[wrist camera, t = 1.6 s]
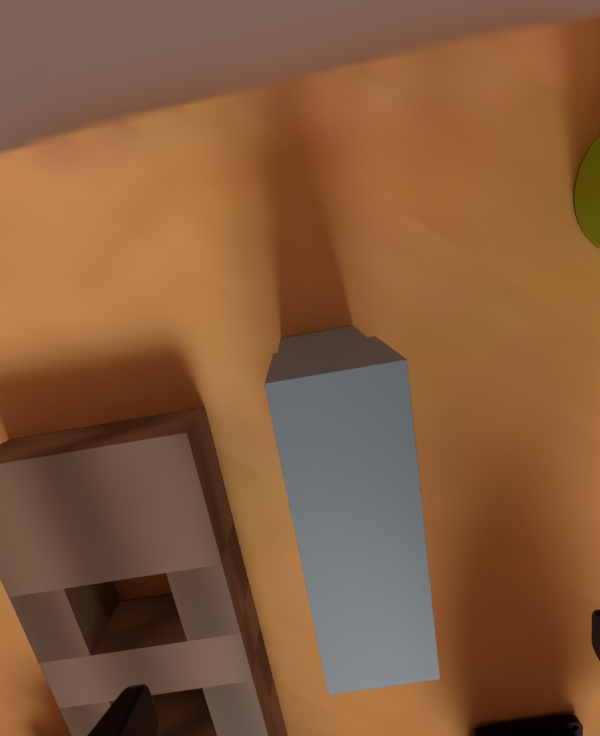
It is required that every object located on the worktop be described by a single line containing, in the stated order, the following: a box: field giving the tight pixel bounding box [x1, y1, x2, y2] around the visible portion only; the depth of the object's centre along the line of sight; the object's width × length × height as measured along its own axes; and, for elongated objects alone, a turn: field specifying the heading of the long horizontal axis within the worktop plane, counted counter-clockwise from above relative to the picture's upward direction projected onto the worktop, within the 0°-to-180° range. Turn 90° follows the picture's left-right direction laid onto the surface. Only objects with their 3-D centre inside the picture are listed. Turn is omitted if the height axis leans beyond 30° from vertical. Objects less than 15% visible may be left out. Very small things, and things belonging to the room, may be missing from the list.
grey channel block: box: [265, 326, 440, 695], centre depth 14 cm, size 3×10×8 cm, turn 10°
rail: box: [0, 407, 287, 736], centre depth 19 cm, size 10×24×3 cm, turn 10°
